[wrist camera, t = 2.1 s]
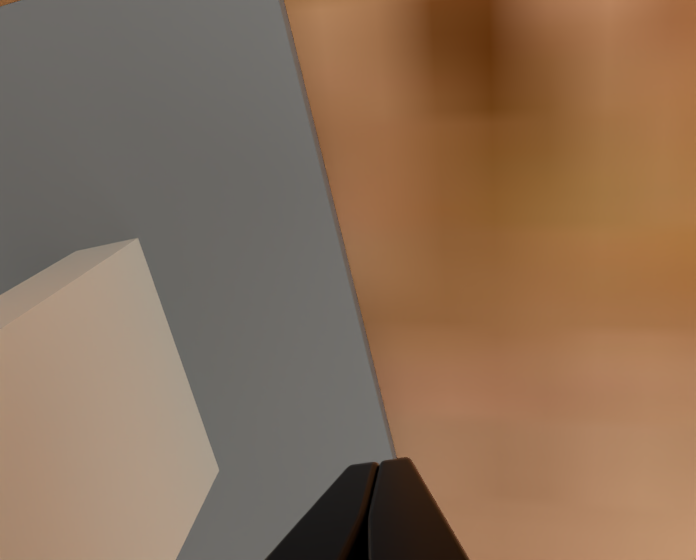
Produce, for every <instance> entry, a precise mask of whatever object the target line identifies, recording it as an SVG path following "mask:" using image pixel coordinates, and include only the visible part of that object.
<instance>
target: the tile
mask: <svg viewBox="0 0 696 560" xmlns="http://www.w3.org/2000/svg"><path fill="white" fill-rule="evenodd" d="M218 472H219V468H218V465H217V462H216V459H215V457H214V454H213V451H212V448H211V445H210V442H209V439H208V437H207V434H206V431H205V428H204V425H203V422H202V419H201V417H200V414H199V411H198V408H197V405H196V402H195V399H194V396H193V394H192V391H191V388H190V385H189V382H188V379H187V376H186V374H185V371H184V368H183V365H182V362H181V359H180V356H179V354H178V351H177V348H176V345H175V342H174V339H173V336H172V334H171V331H170V328H169V325H168V322H167V319H166V316H165V314H164V311H163V308H162V305H161V302H160V299H159V296H158V294H157V291H156V288H155V285H154V282H153V279H152V276H151V274H150V271H149V268H148V265H147V262H146V259H145V256H144V254H143V251H142V248H141V245H140V242H139V239H138V238H135V239H130V240H125V241H121V242H116V243H111V244H107V245H102V246H97V247H92V248H88V249H83V250H78V251H75V252H73V253H72V254H70V255H68V256H66V257H65V258H63V259H61V260H60V261H58V262H56V263H54V264H53V265H51V266H49V267H48V268H46V269H44V270H42V271H41V272H39V273H37V274H36V275H34V276H32V277H30V278H29V279H27V280H25V281H24V282H22V283H20V284H18V285H17V286H15V287H13V288H12V289H10V290H8V291H6V292H5V293H3V294H1V295H0V560H176V558H177V556H178V554H179V552H180V550H181V548H182V546H183V544H184V542H185V540H186V538H187V536H188V533H189V531H190V529H191V527H192V525H193V523H194V521H195V519H196V517H197V515H198V513H199V511H200V509H201V507H202V505H203V503H204V501H205V498H206V496H207V494H208V492H209V490H210V488H211V486H212V484H213V482H214V480H215V478H216V476H217V474H218Z"/></svg>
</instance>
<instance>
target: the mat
mask: <svg viewBox="0 0 696 560" xmlns="http://www.w3.org/2000/svg"><path fill="white" fill-rule="evenodd" d="M135 238H138V239H139V242H140V245H141V248H142V251H143V254H144V256H145V259H146V262H147V265H148V268H149V271H150V274H151V276H152V279H153V282H154V285H155V288H156V291H157V294H158V296H159V299H160V302H161V305H162V308H163V311H164V314H165V316H166V319H167V322H168V325H169V328H170V331H171V334H172V336H173V339H174V342H175V345H176V348H177V351H178V354H179V356H180V359H181V362H182V365H183V368H184V371H185V374H186V376H187V379H188V382H189V385H190V388H191V391H192V394H193V396H194V399H195V402H196V405H197V408H198V411H199V414H200V417H201V419H202V422H203V425H204V428H205V431H206V434H207V437H208V439H209V442H210V445H211V448H212V451H213V454H214V457H215V459H216V462H217V465H218V468H219V472H218V474H217V476H216V478H215V480H214V482H213V484H212V486H211V488H210V490H209V492H208V494H207V496H206V498H205V501H204V503H203V505H202V507H201V509H200V511H199V513H198V515H197V517H196V519H195V521H194V523H193V525H192V527H191V529H190V531H189V533H188V536H187V538H186V540H185V542H184V544H183V546H182V548H181V550H180V552H179V554H178V556H177V558H176V560H264V559H265V558H266V557H267V556H268V555H269V554H270V553H271V552H272V550H273V549H274V548H275V547H276V546H277V545H278V544H279V543H280V541H281V540H282V539H283V538H284V537H285V536H286V535H287V534H288V533H289V531H290V530H291V529H292V528H293V527H294V526H295V525H296V524H297V523H298V521H299V520H300V519H301V518H302V517H303V516H304V515H305V514H306V513H307V511H308V510H309V509H310V508H311V507H312V506H313V505H314V504H315V503H316V501H317V500H318V499H319V498H320V497H321V496H322V495H323V494H324V492H325V491H326V490H327V489H328V488H329V487H330V486H331V485H332V484H333V482H334V481H335V480H336V479H337V478H338V477H339V476H340V475H341V474H342V472H343V471H344V470H345V469H346V468H347V467H348V466H350V465H352V464H360V463H367V462H377V463H378V464H379V465H380V463H381V462H382V461H384V460H390V459H397V457H396V453H395V449H394V445H393V441H392V437H391V433H390V429H389V425H388V421H387V417H386V413H385V409H384V404H383V400H382V396H381V392H380V388H379V384H378V380H377V376H376V372H375V368H374V364H373V360H372V356H371V352H370V348H369V344H368V340H367V336H366V332H365V328H364V323H363V319H362V315H361V311H360V307H359V303H358V299H357V295H356V291H355V287H354V283H353V279H352V275H351V271H350V267H349V263H348V259H347V255H346V251H345V247H344V242H343V238H342V234H341V230H340V226H339V222H338V218H337V214H336V210H335V206H334V202H333V198H332V194H331V190H330V186H329V182H328V178H327V174H326V170H325V166H324V161H323V157H322V153H321V149H320V145H319V141H318V137H317V133H316V129H315V125H314V121H313V117H312V113H311V109H310V105H309V101H308V97H307V93H306V89H305V85H304V80H303V76H302V72H301V68H300V64H299V60H298V56H297V52H296V48H295V44H294V40H293V36H292V32H291V28H290V24H289V20H288V16H287V12H286V8H285V4H284V0H21V1H17V2H14V3H11V4H7V5H4V6H1V7H0V295H1V294H3V293H5V292H6V291H8V290H10V289H12V288H13V287H15V286H17V285H18V284H20V283H22V282H24V281H25V280H27V279H29V278H30V277H32V276H34V275H36V274H37V273H39V272H41V271H42V270H44V269H46V268H48V267H49V266H51V265H53V264H54V263H56V262H58V261H60V260H61V259H63V258H65V257H66V256H68V255H70V254H72V253H73V252H75V251H78V250H83V249H88V248H92V247H97V246H102V245H107V244H111V243H116V242H121V241H125V240H130V239H135Z"/></svg>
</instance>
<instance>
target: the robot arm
mask: <svg viewBox="0 0 696 560" xmlns="http://www.w3.org/2000/svg"><path fill="white" fill-rule="evenodd" d="M264 560H469V558H468V556H467V554H466V553H465V551H464V549H463V548H462V546H461V544H460V542H459V541H458V539H457V537H456V536H455V534H454V532H453V530H452V529H451V527H450V525H449V524H448V522H447V520H446V518H445V517H444V515H443V513H442V512H441V510H440V508H439V506H438V505H437V503H436V501H435V500H434V498H433V496H432V495H431V493H430V491H429V489H428V488H427V486H426V484H425V483H424V481H423V479H422V477H421V476H420V474H419V472H418V471H417V469H416V467H415V465H414V464H413V462H412V460H411V459H410V458H407V457H404V458H397V459H390V460H384V461H382V462H381V463H380V465H379V464H378V463H377V462H367V463H360V464H352V465H350V466H348V467H347V468H346V469H345V470H344V471H343V472H342V474H341V475H340V476H339V477H338V478H337V479H336V480H335V481H334V482H333V484H332V485H331V486H330V487H329V488H328V489H327V490H326V491H325V492H324V494H323V495H322V496H321V497H320V498H319V499H318V500H317V501H316V503H315V504H314V505H313V506H312V507H311V508H310V509H309V510H308V511H307V513H306V514H305V515H304V516H303V517H302V518H301V519H300V520H299V521H298V523H297V524H296V525H295V526H294V527H293V528H292V529H291V530H290V531H289V533H288V534H287V535H286V536H285V537H284V538H283V539H282V540H281V541H280V543H279V544H278V545H277V546H276V547H275V548H274V549H273V550H272V552H271V553H270V554H269V555H268V556H267V557H266V558H265V559H264Z"/></svg>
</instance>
